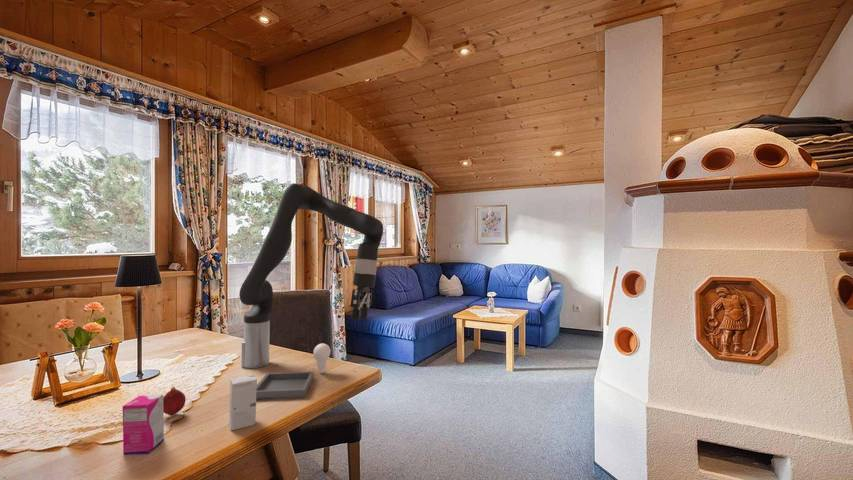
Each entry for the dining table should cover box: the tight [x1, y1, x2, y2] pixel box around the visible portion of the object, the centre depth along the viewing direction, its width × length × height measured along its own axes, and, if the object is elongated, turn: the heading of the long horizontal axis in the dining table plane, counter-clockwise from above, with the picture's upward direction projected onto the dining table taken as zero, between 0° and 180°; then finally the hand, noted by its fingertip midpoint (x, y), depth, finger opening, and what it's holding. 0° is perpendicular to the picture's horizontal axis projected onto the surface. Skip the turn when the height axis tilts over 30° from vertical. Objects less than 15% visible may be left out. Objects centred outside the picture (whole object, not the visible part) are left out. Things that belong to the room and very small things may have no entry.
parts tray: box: [256, 371, 315, 401], centre depth 121 cm, size 16×16×2 cm
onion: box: [163, 386, 186, 417], centre depth 102 cm, size 6×6×8 cm
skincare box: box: [228, 375, 258, 431], centre depth 97 cm, size 6×4×12 cm
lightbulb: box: [312, 343, 331, 374], centre depth 135 cm, size 6×6×11 cm
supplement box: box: [122, 394, 165, 456], centre depth 86 cm, size 6×6×12 cm
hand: (359, 319), depth 125 cm, fingers open, 8 cm apart
